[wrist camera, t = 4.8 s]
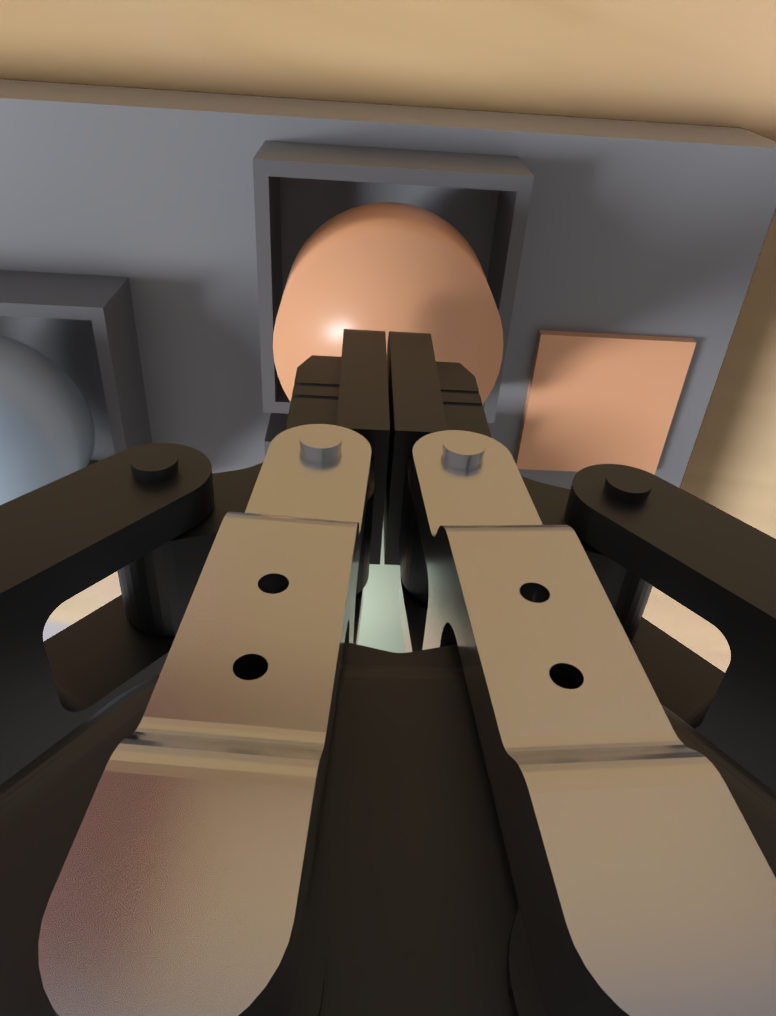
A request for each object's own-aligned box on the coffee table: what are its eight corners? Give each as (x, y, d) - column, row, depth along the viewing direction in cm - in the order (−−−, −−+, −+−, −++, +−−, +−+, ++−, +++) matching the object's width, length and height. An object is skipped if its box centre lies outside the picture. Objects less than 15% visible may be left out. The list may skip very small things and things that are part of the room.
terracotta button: (501, 208, 15) (521, 242, 13) (473, 403, 18) (486, 456, 16) (283, 195, 15) (268, 228, 13) (286, 394, 17) (275, 447, 15)
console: (741, 127, 19) (844, 168, 15) (619, 532, 27) (665, 634, 22) (-145, 69, 18) (-301, 95, 14) (-11, 507, 25) (-86, 610, 21)
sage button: (463, 475, 19) (474, 532, 17) (445, 604, 21) (453, 667, 19) (288, 467, 18) (278, 524, 17) (290, 599, 21) (282, 662, 19)
